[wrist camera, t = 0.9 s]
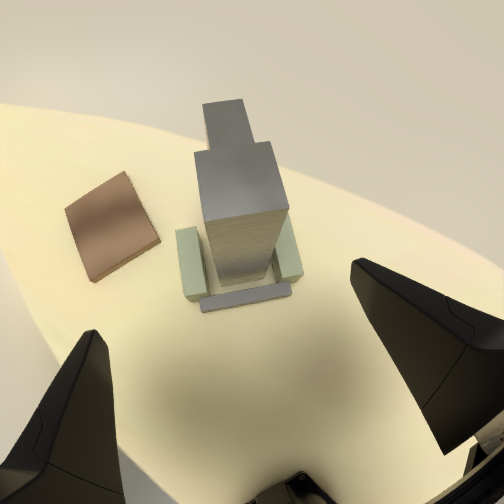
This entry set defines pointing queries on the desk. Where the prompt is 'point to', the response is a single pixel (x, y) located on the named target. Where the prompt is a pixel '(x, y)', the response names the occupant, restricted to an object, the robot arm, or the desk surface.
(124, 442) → the desk surface
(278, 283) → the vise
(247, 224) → the stepped metal bracket
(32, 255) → the desk surface
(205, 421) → the desk surface
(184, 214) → the desk surface
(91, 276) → the walnut board
